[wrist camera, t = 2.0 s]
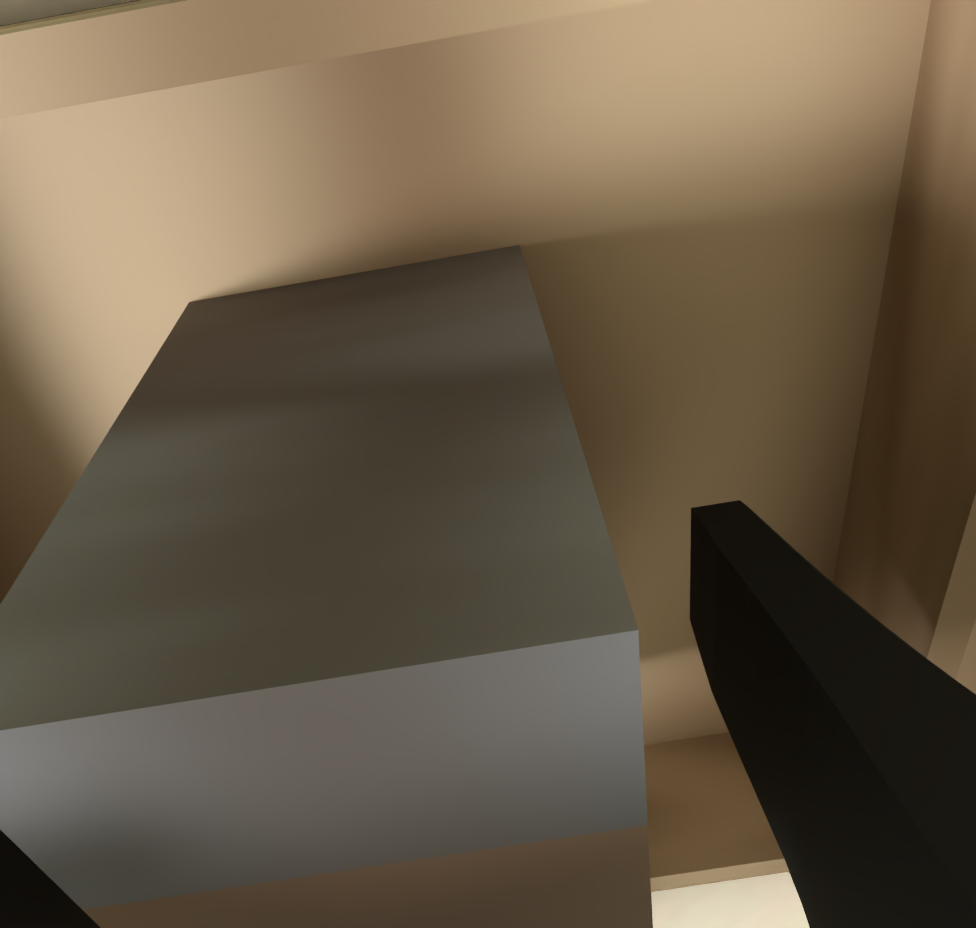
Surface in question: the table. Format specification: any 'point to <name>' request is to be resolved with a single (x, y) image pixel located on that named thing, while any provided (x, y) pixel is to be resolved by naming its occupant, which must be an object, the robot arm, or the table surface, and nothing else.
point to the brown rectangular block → (334, 629)
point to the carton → (551, 273)
